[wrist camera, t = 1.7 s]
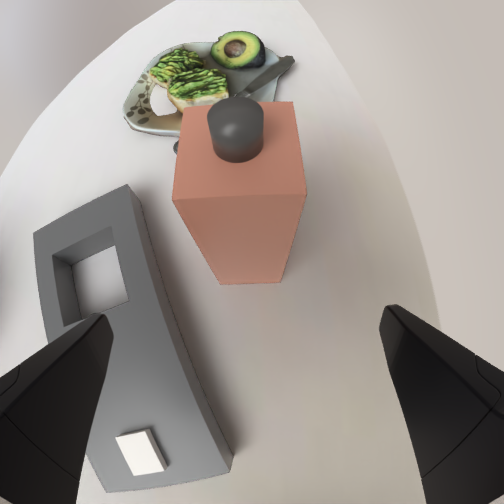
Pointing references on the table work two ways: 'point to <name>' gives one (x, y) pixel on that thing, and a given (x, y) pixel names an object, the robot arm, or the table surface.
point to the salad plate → (204, 79)
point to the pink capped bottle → (241, 186)
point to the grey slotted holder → (132, 354)
